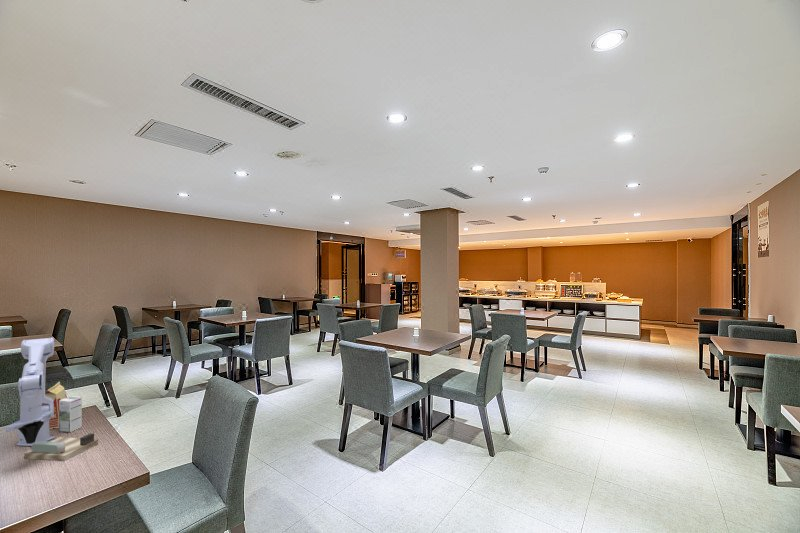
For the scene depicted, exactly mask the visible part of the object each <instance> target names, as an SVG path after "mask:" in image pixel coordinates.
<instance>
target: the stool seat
mask: <svg viewBox="0 0 800 533" xmlns="http://www.w3.org/2000/svg"><path fill="white" fill-rule="evenodd" d="M50 442H65V451H64V452H61V453H46V452H32V449H30V450H28V451H26V452H24V453H23V459H29V460H46V461H47V460H48V461H63V462H65V461H67V460H70V459H71V458H73V457H75V456H77V455H79V454H81V453H83V452H85V451H87V450H89V449H91V448H93V447H96V446H97V445H99V439H98V438H95V433H87V434H86V435H84V436H81V437H63V436H60V437H57V438H54V439H52V440H50Z"/></svg>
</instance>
